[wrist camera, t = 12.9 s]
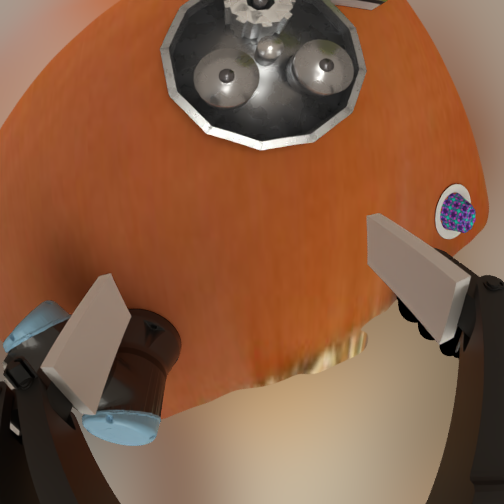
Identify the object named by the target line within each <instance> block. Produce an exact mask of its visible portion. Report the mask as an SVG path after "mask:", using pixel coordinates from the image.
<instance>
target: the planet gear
mask: <svg viewBox="0 0 504 504" xmlns="http://www.w3.org/2000/svg"><path fill="white" fill-rule="evenodd" d="M252 2H253V0H226V1H224V21H225V24H230V28H231V29H232V30H234V35H235V36H237V37H239V38H242V37H243V36H245V37H247V38H248V39H254V38H256V39H257V42H259V40H260V39H261V38H262V37H264V36H273V35H274V33H277V34H280V33H281V32H282V31H283V29H284V28H285V26H286V24H287V23H288V21H289V20H290V18H291V16H292V15H293V14H292V13H290V12H291V10H292V8H293V6H294V4H295V2H296V1H295V0H268V2H267V5H266V8H265V10H256V9H254V8H252Z"/></svg>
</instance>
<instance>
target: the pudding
mask: <svg viewBox="0 0 504 504" xmlns="http://www.w3.org/2000/svg"><path fill="white" fill-rule="evenodd" d="M453 192H457V193H456V194H455V195H454V194H453ZM451 193H452V194H451ZM449 194H450V195H449ZM460 194H461V195H460ZM448 195H449V196H448ZM447 196H448V199H447V200H445V198H446V197H447ZM444 200H445V201H444ZM442 204H443V205H442ZM441 207H442V209H443V210H442V212H441V215H440V211H441ZM475 214H476V213H475V209H474V208H473V206H472V205H471V200H470V196H469V193H468V191H467V189H466V188H465V187H464V186H462V185H460V184H454V185H452V186H450V187H449V188H447V189H446V190H445V191H444V193H443V194H442V196H441V198H440V200H439V202H438V205H437V209H436V217H435V221H436V228H437V230H438V233H439V234H440V235H441V236H442V237H443V238H445V239H452V238H455V237H457V236H458V235H459V234H460V233H461V232H462V233H466V232H467V231H468V230H470V229H471V228H472V227H473V224H474V222H475ZM440 218H441V220H442V221H443V223H442V224H441V221H440ZM442 225H443V226H442ZM443 227H444V228H446V229H449V230H446V229H444V228H443Z"/></svg>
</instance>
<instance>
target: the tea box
mask: <svg viewBox="0 0 504 504" xmlns="http://www.w3.org/2000/svg"><path fill="white" fill-rule="evenodd" d="M330 1H331V2H332V3H333V4H334V5H341V6H349V7H355V8H362V9H368V10H373V9H374V8H376V7H378V6H379V5H381V4H383V3H384V2H386V1H387V0H330Z"/></svg>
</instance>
